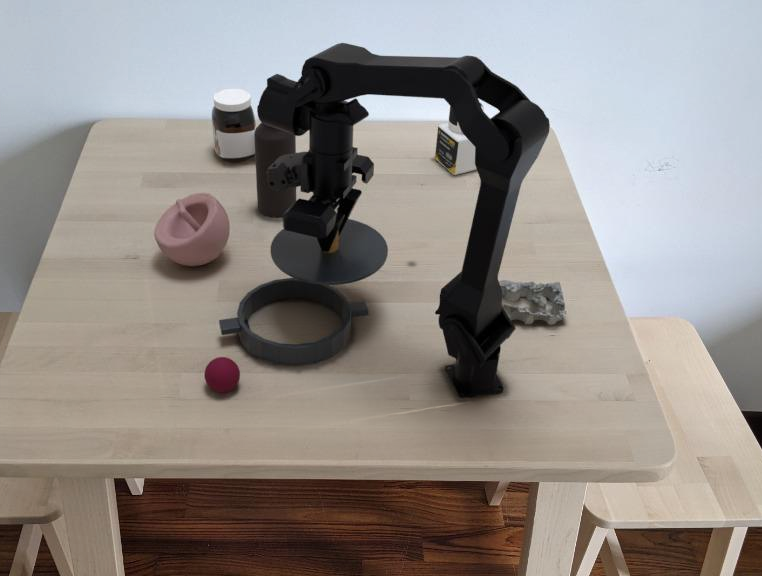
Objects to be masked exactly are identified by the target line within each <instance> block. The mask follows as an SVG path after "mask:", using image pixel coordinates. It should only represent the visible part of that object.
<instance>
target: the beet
mask: <svg viewBox="0 0 762 576" xmlns="http://www.w3.org/2000/svg"><path fill="white" fill-rule="evenodd" d="M240 378H241V371H240V368H239V366H238V364H237V363H236V361H234V360H233V359H232V358H229V357H226V356H219V357H216V358H213V359H211V360H210V361H209V362H208V364H207V365H206V367H205V369H204V380H205V383H206V385H207V386H208V387H209V388H210V389H211V390H213V391H214V392H217V393H227V392H230V391H232V390H233V389H234V388H236V386H237V385H238V384H239V382H240Z"/></svg>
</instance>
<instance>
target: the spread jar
mask: <svg viewBox="0 0 762 576" xmlns="http://www.w3.org/2000/svg"><path fill="white" fill-rule="evenodd" d="M251 100H252V97H251V94H250V93H249V92H248V91H246V90H243V89H239V88H228V89H227V88H226V89H222V90H220V91H217V92H216V93H214V95H213V107H212V109H211V125H212V136H213V137H212V138H213V144H214V145H213V146H214V151H215V154H216V157H217V158H218V159H219V160H220V161H222V162H225V163H230V164H239V163H245V162H247V161H249V160H251V159H253V158H254V157H255V136H254V132H255V129H256V127H257V123H256V118H255V117H256V116H255V112H254V109H253V107H252V101H251Z"/></svg>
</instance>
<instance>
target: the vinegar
mask: <svg viewBox="0 0 762 576" xmlns="http://www.w3.org/2000/svg"><path fill="white" fill-rule="evenodd" d="M254 136H255V156H254V157H255V159H254V160H255V177H256V178H255V179H256V199H257V200H256V202H257V211H258V212H259V214H260V215H262V216H264V217H267V218H272V219H281V218H282V219H283V214H284V213H285V212H286V211H287V210H288V209H289V207H290V206H291V205H292V204H293V203H294V202H295V201H297V187H292V188H287V189H283V190H280V191H277V190H273V189H271V188H270V186H269V184H267V183H266V179H267V174H266V172H267V171H268V168H269V167H270V166H271V165H272V164H273V163H274V162H275V161H276V160H277V159H278V158H279V157H280V156H283V155H286V154H292V153H297V145H296V144H297V142H296V140H297V139H296V138H297V136H295V135H293V134H290V133H287V132H284V131H282V130H279V129H276V128H274V127H271V126H268V125H265V124H263V123H262V122H261V121H260V123H259V124H258V125H256V129H255V132H254Z"/></svg>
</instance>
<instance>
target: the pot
mask: <svg viewBox="0 0 762 576" xmlns="http://www.w3.org/2000/svg"><path fill="white" fill-rule="evenodd" d="M289 299H290V300H291V299H297V300H298V299H299V300H309V301H314V302H317V303H321V304H323V305H325V306H327V307H329V308H330V309H332V310H334V311H335V312H336V313H337V314H338V315H339V316H340V317H341V318H342V321H343V322H342V323H341V326H340V327H339V328H338V329H336V330H335V331H334V332H332V333H331V334H330V335H328V336H326V337H324V338H321V339H318V340H315V341H310V342H304V343H283V342H282V343H281V342H276V341H274V340H270V339H267V338H264V337H262V336H260V335H258V334H257V333H255V332H254V331H252V329H251V327H250V323H249V317H250V316H251V314H253V312H255V311H257V310H258V309H259V308H262V307H263V306H265V305H268V304H270V303H274V302H276V301H282V300H289ZM369 314H370V309H369V307H368V305H367V303H366V300H358V301H350V302H349V300H348V298H347V296H345V295H344V294H343V293H342V292H341V291H340V290H339V289H338V288H336V287H334V286H333V285H320V284H313V283H308V282H303V281H300V280H297V279H295V278H293V277H287V278H286V277H285V278H279V279H274V280H271V281H268V282H264V283H262V284H259V285H258V286H256V287H254V288H252V289H251V290H250V291H248V292H247V293H246V294H245V295H244V297H243V298H242V299H241V300H240V301H239V305H238V308H237V311H236V317H231V318H224V319H223V318H222V319H219V320H218V324H219V325H218V326H219V329H220V333H221V334H220V335H221V336H225V335H234V334H238V336H239V340H240V344H241V346H243V347H244V349H245V350H246V352H248V353H249V354H250V355H252V356H253V357H254V358H256V359H260V360H262V361H265V362H269V363H272V364H276V365H280V366H294V367H296V366H297V367H298V366H306V365H312V364H313V365H314V364H317V363H320V362H322V361H326V360H328V359H330V358H332V357H334V356H335V355H336V354H338V353H339V352H340V351H342V350H343V349H344V348H345V346H346V344H347V343H348V342H349V340H350V339H351V330H352V329H351V328H352V318H356V317H363V316H369Z"/></svg>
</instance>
